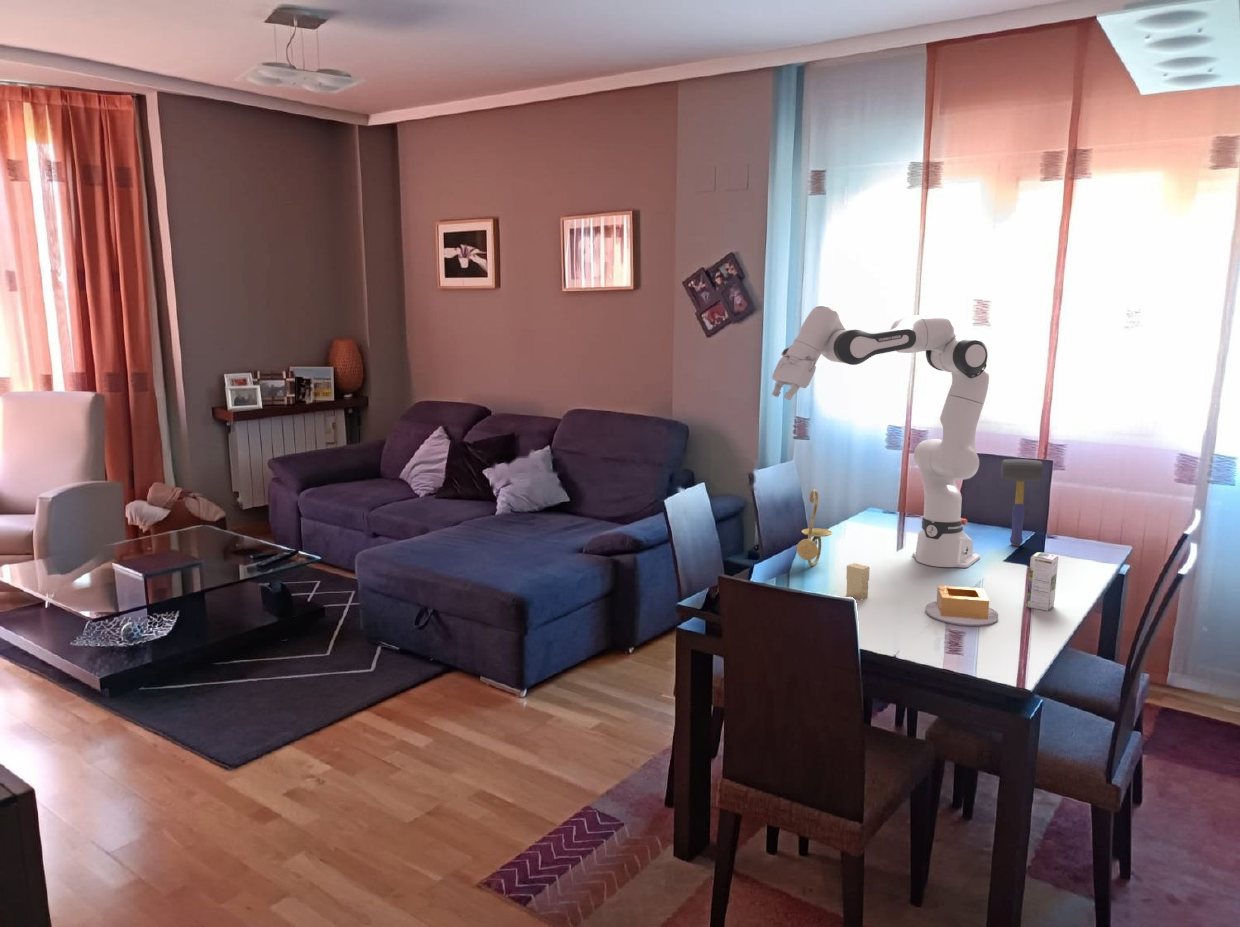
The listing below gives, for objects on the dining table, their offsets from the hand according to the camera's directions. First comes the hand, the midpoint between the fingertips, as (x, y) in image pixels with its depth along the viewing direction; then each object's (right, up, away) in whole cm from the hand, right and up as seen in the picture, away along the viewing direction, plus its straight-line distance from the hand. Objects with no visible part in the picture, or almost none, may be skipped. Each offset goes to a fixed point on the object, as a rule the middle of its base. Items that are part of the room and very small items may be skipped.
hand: (780, 397), depth 262 cm
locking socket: (+43, -60, -29) cm, 79 cm away
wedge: (+19, -57, -14) cm, 62 cm away
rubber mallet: (+88, -48, +40) cm, 108 cm away
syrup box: (+67, -59, -23) cm, 92 cm away
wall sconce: (+14, -52, +17) cm, 57 cm away
